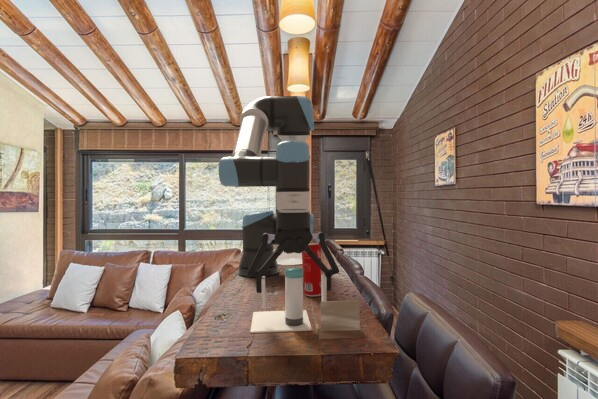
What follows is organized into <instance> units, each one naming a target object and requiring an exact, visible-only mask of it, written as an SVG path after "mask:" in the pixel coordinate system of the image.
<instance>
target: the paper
mask: <svg viewBox="0 0 598 399" xmlns="http://www.w3.org/2000/svg"><path fill="white" fill-rule="evenodd" d="M251 319H252V320H251V326H250V334H262V333H263V334H264V333H284V332H307V331H313V327H312V325H311V322H310V318H309V315H308V312H307V310H306V309H303V324H302V325H299V326H289V325H286V324H285V310H270V311H268V310H267V311H266V310H265V311H264V310H263V311H253V313H252V318H251Z"/></svg>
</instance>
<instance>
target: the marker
mask: <svg viewBox="0 0 598 399" xmlns="http://www.w3.org/2000/svg"><path fill="white" fill-rule="evenodd" d="M284 280H285V281H284V285H285V286H284V295H285V296H284V298H285V299H284V303H285V304H284V306H285V308H284V311H285V324H286V325H289V326H299V325H302V324H303V310H304V279H303V267H296V266H293V267H285V269H284Z"/></svg>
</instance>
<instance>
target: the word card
mask: <svg viewBox="0 0 598 399" xmlns="http://www.w3.org/2000/svg"><path fill="white" fill-rule="evenodd" d="M360 302H361V301H360V300H359V299H356V300H355V299H353V300H327V301H322V300H321V301H320V327H318V328H317V336H318V339H319V340H333V339H335V340H336V339H337V340H338V339H356V338H357V339H358V338H365V332H364V331H363V329H362V327H361V325H360V324H361V322H360V321H361V320H360V319H361V318H360V317H361V316H360V314H361V313H360V307H361V306H360Z"/></svg>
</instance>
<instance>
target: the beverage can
mask: <svg viewBox="0 0 598 399" xmlns="http://www.w3.org/2000/svg"><path fill="white" fill-rule="evenodd" d="M308 246H309V248H310V249H311V250H312V251H313V252H314V253H315V255H316V256H317V257H318V258H319V259H320V260H321V261H322V262H323V259H322V258H323V256H322V249H321V247H320V244H319V243H317V242H310V243H309V245H308ZM301 262H302V263H301V264H302V268H303V294H304V295H305V296H307V297H320V296H321V275H324V272H323V271H322V270H321V269H320V268H319V266H318V265H317V264H316V263H315V262H314V261H313V260H312V258H311V257H310V256H309V255H308V254H307V253H306V252H305V250H304V251H303V252H301Z"/></svg>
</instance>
